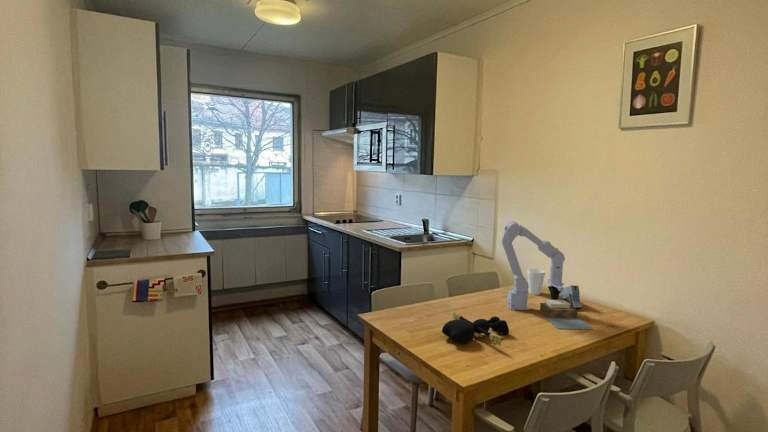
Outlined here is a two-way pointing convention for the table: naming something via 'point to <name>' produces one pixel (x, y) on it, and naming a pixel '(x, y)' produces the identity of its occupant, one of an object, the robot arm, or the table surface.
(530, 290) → the foam cup
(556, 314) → the brown flat block
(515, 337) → the table surface
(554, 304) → the cream flat block
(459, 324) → the toy
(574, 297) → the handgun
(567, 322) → the mat
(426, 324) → the table surface
